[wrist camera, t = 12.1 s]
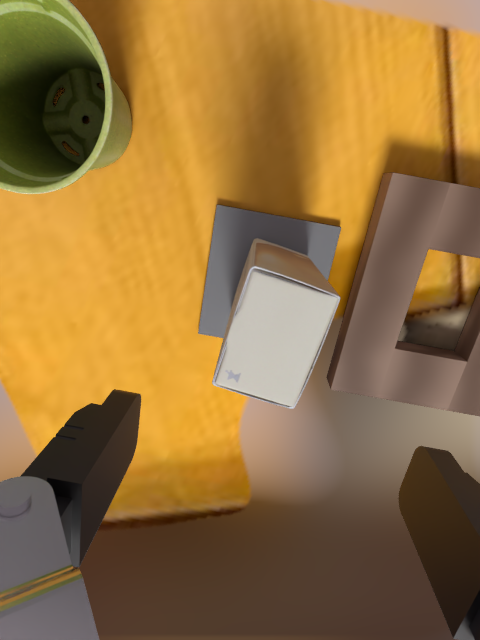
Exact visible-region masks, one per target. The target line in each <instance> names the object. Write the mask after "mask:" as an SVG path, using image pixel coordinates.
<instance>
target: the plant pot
mask: <svg viewBox="0 0 480 640" xmlns="http://www.w3.org/2000/svg"><path fill="white" fill-rule="evenodd" d="M97 83H104V87H105V91H103V90H102V89H100V88H99V87H98V86H97ZM60 88H64V89H65V91H64V93H63V94H62V95H61V96H60V97H59V99H58V101H57V104H56V106H54V105H53V99H54V97H55V95H56V93H57V91H58V90H59V89H60ZM85 115H86V116H88V117H89V120H90V121H89V122H88V124H84V123H83V121H82V118H83V117H84V116H85ZM131 133H132V120H131V113H130V108H129V104H128V102H127V100H126V97H125V96H124V94H123V92H122V91H121V89H120V88H119V86H118V85H117V84H116V82H115V81H114V80H113V79H112V77H111V74H110V70H109V66H108V63H107V60H106V57H105V54H104V51H103V49H102V47H101V45H100V43H99V41H98V39H97V37H96V35H95V33H94V32H93V30H92V28H91V27H90V25H89V24H88V22H87V21H86V20H85V18H84V17H83V15H82V14H81V13H80V12H79V11H78V9H77V8H76V7H75V6H74V5H73V4H72V3H71V2H70V1H69V0H0V188H1V189H4V190H7V191H12V192H16V193H23V194H40V193H47V192H52V191H55V190H59V189H62V188H64V187H66V186H68V185H70V184H72V183H74V182H75V181H77V180H78V179H79V178H81V177H82V176H83V175H84V174H85V173H86V172H87V171H89V170H94V169H98V168H102V167H105V166H108V165H110V164H112V163H113V162H115V161H116V160H117V159H118V158H120V157H121V155H122V154H123V153H124V151H125V150H126V148H127V146H128V143H129V141H130V138H131ZM63 141H65V142H66V143H67V144H68V145H69V146H70V147H71V148H72V149H73V150H75V151H76V153H79V156H75V155H73V154H71V153H70V152H68V151H67V150H66V149H65V148H64V146H63V144H62V142H63Z"/></svg>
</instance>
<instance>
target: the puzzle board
mask: <svg viewBox="0 0 480 640" xmlns="http://www.w3.org/2000/svg"><path fill="white" fill-rule="evenodd" d="M428 249H432V250H438V251H443V252H449V253H454V254H460V255H465V256H471V257H476V258H480V188H475V187H470V186H464V185H459V184H453V183H448V182H442V181H437V180H431V179H426V178H421V177H415V176H410V175H404V174H399V173H384V174H383V177H382V181H381V185H380V188H379V192H378V195H377V199H376V202H375V206H374V210H373V213H372V217H371V220H370V224H369V227H368V231H367V235H366V238H365V242H364V245H363V249H362V253H361V256H360V260H359V263H358V267H357V270H356V274H355V278H354V281H353V285H352V288H351V292H350V296H349V299H348V303H347V306H346V310H345V313H344V317H343V321H342V324H341V328H340V331H339V335H338V339H337V342H336V346H335V349H334V353H333V356H332V360H331V364H330V367H329V371H328V374H327V380H328V383H329V386H330V389H331V390H336V391H343V392H347V393H353V394H358V395H364V396H370V397H375V398H381V399H386V400H393V401H398V402H403V403H409V404H414V405H420V406H426V407H431V408H436V409H442V410H448V411H453V412H459V413H464V414H470V415H475V416H480V288H479V290H478V293H477V295H476V298H475V300H474V303H473V306H472V308H471V311H470V313H469V316H468V318H467V321H466V323H465V326H464V328H463V331H462V333H461V336H460V338H459V341H458V343H457V346H456V348H455V351H452V350H446V349H441V348H435V347H430V346H424V345H419V344H413V343H407V342H402V341H397V340H398V337H399V334H400V331H401V328H402V326H403V323H404V320H405V317H406V314H407V311H408V308H409V305H410V302H411V299H412V296H413V293H414V290H415V287H416V284H417V281H418V278H419V275H420V272H421V269H422V266H423V263H424V260H425V257H426V254H427V251H428Z"/></svg>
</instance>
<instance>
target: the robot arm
mask: <svg viewBox="0 0 480 640" xmlns="http://www.w3.org/2000/svg"><path fill="white" fill-rule="evenodd" d="M140 407H141V395H140V394H137V393H132V392H126V391H121V390H116V389H115V390H113V391H112V392H111V393H110V395H109V396H108V397H107V399H106V400H105V401H104V403H103V404H102V405H98V404H92V403H91V404H89V405H87V406H85V407H84V408H82V409H80V410H78V411H76V412H75V413H74V414H73V415H72V416H71V418H70V419H69V420H68V421H67V422H66V423H65V426H64V427H62V428H61V429H60V430H59V432H58V433H57V434H56V437H54V438H53V439H52V440H51V441H50V442H49V443H48V445H47V446H46V447H45V448H44V449H43V450H42V452H41V453H40V454H39V455H38V456H37V458H36V459H35V460H34V461H33V462H32V463H31V465H30V466H29V467H28V468H27V469H26V470H25V472H24V473H23V474H22V475H21V476H20V477H15V478H11V479H7V480H4V481H2V482H0V640H99V637H98V634H97V630H96V626H95V622H94V619H93V615H92V611H91V607H90V603H89V600H88V596H87V592H86V588H85V585H84V581H83V578H82V575H81V572H80V570H79V569H78V568H75V569H73V566H76V567H80V565H81V562H82V560H83V558H84V556H85V554H86V552H87V550H88V548H89V546H90V544H91V542H92V540H93V538H94V536H95V534H96V532H97V530H98V528H99V526H100V524H101V522H102V520H103V518H104V516H105V514H106V512H107V510H108V508H109V506H110V504H111V502H112V500H113V498H114V496H115V494H116V491H117V489H118V487H119V485H120V483H121V481H122V479H123V477H124V475H125V473H126V471H127V469H128V467H129V465H130V463H131V461H132V458H133V456H134V453H135V449H136V445H137V438H138V428H139V417H140ZM399 507H400V511H401V514H402V516H403V519H404V521H405V523H406V526H407V528H408V531H409V533H410V535H411V538H412V540H413V543H414V545H415V547H416V550H417V552H418V555H419V557H420V559H421V562H422V564H423V567H424V569H425V571H426V574H427V576H428V579H429V581H430V583H431V586H432V588H433V591H434V593H435V596H436V598H437V600H438V603H439V605H440V608H441V610H442V612H443V615H444V617H445V620H446V622H447V624H448V627H449V629H450V631H451V634H452V636H453V638H454V639H459V640H480V484H479V483H478V482H477V481H476V480H474V479H473V478H472V477H471V476H470V475H469V474H468V473H465V472H464V471H463V470H462V469H461V467H460V466H459V464H458V463H457V461H456V460H455V459H454V457H453V456H452V454H451V453H450V452H448V451H445V450H440V449H434V448H429V447H423V446H419V447H418V448H417V449H416V450H415V452H414V454H413V457H412V459H411V462H410V464H409V467H408V469H407V472H406V474H405V477H404V480H403V482H402V485H401V488H400V491H399Z"/></svg>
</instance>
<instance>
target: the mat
mask: <svg viewBox="0 0 480 640" xmlns="http://www.w3.org/2000/svg"><path fill="white" fill-rule="evenodd" d="M340 230H341V227H338V226H332V225H327V224H321V223H316V222H310V221H305V220H299V219H294V218H288V217H283V216H277V215H272V214H266V213H261V212H255V211H250V210H244V209H239V208H233V207H228V206H222V205H217V208H216V215H215V222H214V229H213V235H212V242H211V249H210V256H209V263H208V270H207V277H206V284H205V291H204V297H203V304H202V311H201V318H200V325H199V332H198V334H204V335H209V336H215V337H220V338H224V335H225V331H226V327H227V324H228V319H229V316H230V311H231V308H232V304H233V301H234V297H235V294H236V291H237V287H238V284H239V281H240V278H241V275H242V271H243V268H244V266H245V263H246V260H247V257H248V254H249V251H250V248H251V246H252V243H253V240H254V239H256V238H259V239H262V240H265V241H268V242H271V243H274V244H277V245H280V246H283V247H285V248H288V249H291V250H294V251H296V252H299V253H302V254H304V255H307V256H308V257H309V258H310V259H311V261H312V262H313V263H314V265H315V266H316V267H317V268H318V269H319V271H320V272H321V273H322V275H323V276H324V277H325V278H326V280H327V281H328V277H329V273H330V269H331V265H332V262H333V258H334V254H335V250H336V246H337V242H338V238H339V234H340Z"/></svg>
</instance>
